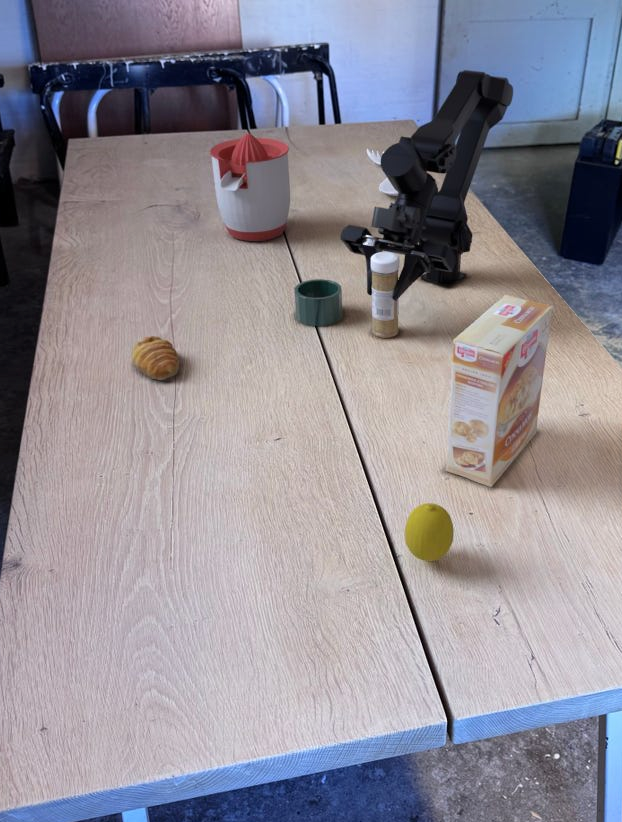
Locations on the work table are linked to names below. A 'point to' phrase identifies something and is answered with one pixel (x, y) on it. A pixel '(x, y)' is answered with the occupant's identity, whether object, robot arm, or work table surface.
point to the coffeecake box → (496, 388)
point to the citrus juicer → (252, 186)
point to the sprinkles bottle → (384, 294)
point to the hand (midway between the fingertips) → (381, 297)
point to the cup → (318, 302)
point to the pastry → (155, 358)
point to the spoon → (385, 185)
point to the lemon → (429, 532)
